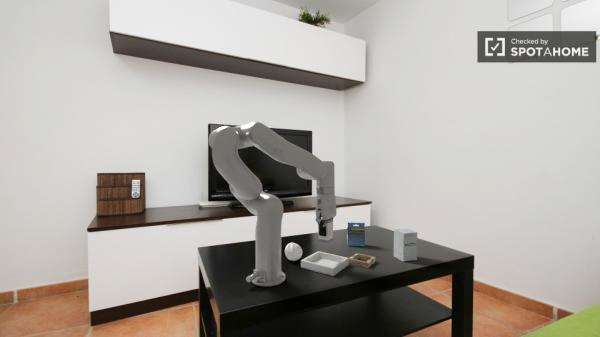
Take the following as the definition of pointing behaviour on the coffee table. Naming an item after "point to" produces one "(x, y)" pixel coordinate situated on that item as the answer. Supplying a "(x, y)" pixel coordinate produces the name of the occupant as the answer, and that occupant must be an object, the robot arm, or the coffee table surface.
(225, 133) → the robot arm
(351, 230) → the label tape cartridge
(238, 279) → the coffee table surface
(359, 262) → the tan wooden flat frame
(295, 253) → the white grooved ball
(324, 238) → the grey white rectangular block
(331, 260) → the parts tray
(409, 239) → the supplement box
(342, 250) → the coffee table surface
